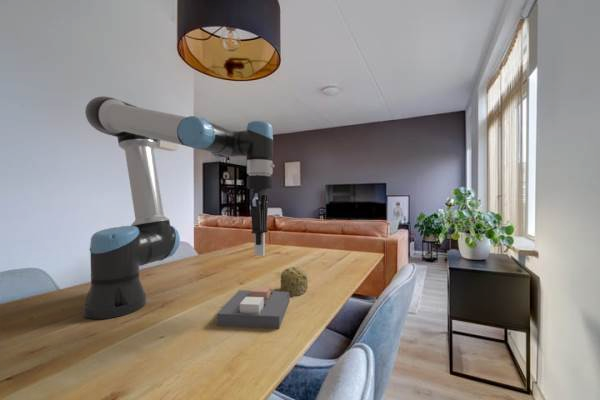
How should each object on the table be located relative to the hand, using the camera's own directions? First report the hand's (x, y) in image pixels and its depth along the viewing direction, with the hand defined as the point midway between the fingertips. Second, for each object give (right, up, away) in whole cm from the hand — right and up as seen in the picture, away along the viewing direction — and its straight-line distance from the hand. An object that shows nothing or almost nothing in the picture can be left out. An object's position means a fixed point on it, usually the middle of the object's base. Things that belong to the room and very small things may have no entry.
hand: (259, 254), depth 79 cm
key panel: (0, -15, -4) cm, 16 cm away
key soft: (-1, -14, -9) cm, 16 cm away
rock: (+10, -15, +13) cm, 22 cm away
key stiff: (0, -14, 0) cm, 14 cm away
